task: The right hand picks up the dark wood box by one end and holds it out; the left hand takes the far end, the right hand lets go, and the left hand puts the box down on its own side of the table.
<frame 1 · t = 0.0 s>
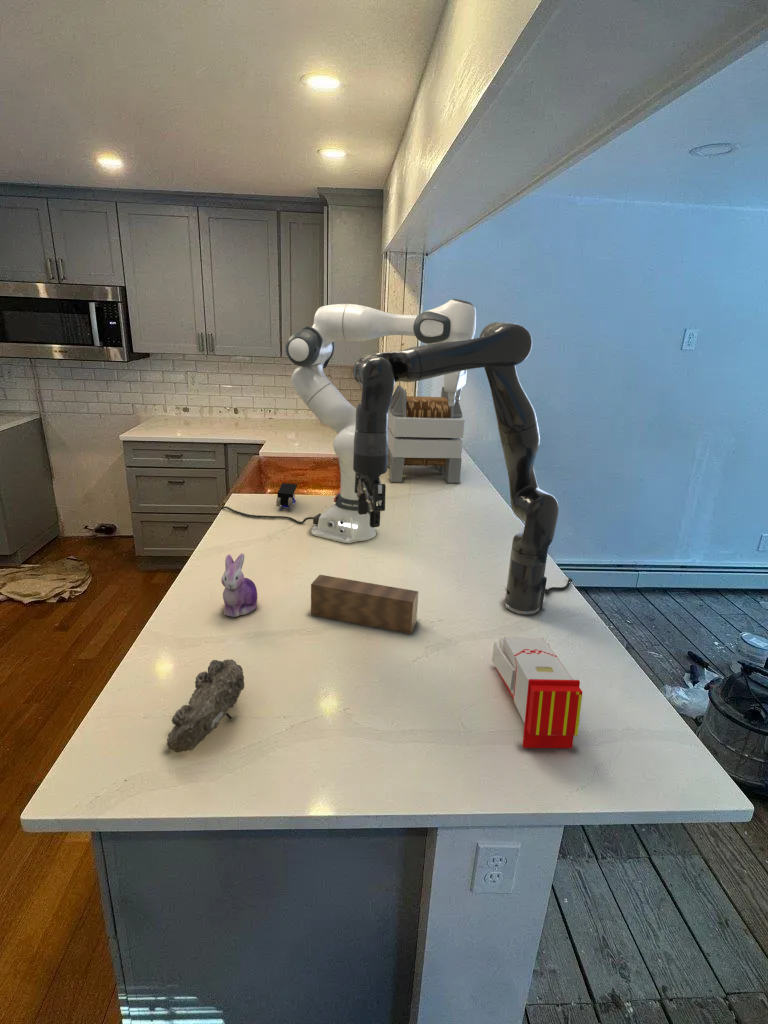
left hand: (454, 403, 174), 48 cm above the counter, tool pointing down, fingers open, 8 cm apart
right hand: (368, 520, 129), 29 cm above the counter, tool pointing down, fingers open, 8 cm apart
figurine: (240, 609, 146), on the counter
fossil: (212, 717, 108), on the counter
toy: (527, 700, 117), on the counter
figurine character: (287, 506, 222), on the counter
box: (363, 618, 145), on the counter
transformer: (419, 473, 275), on the counter
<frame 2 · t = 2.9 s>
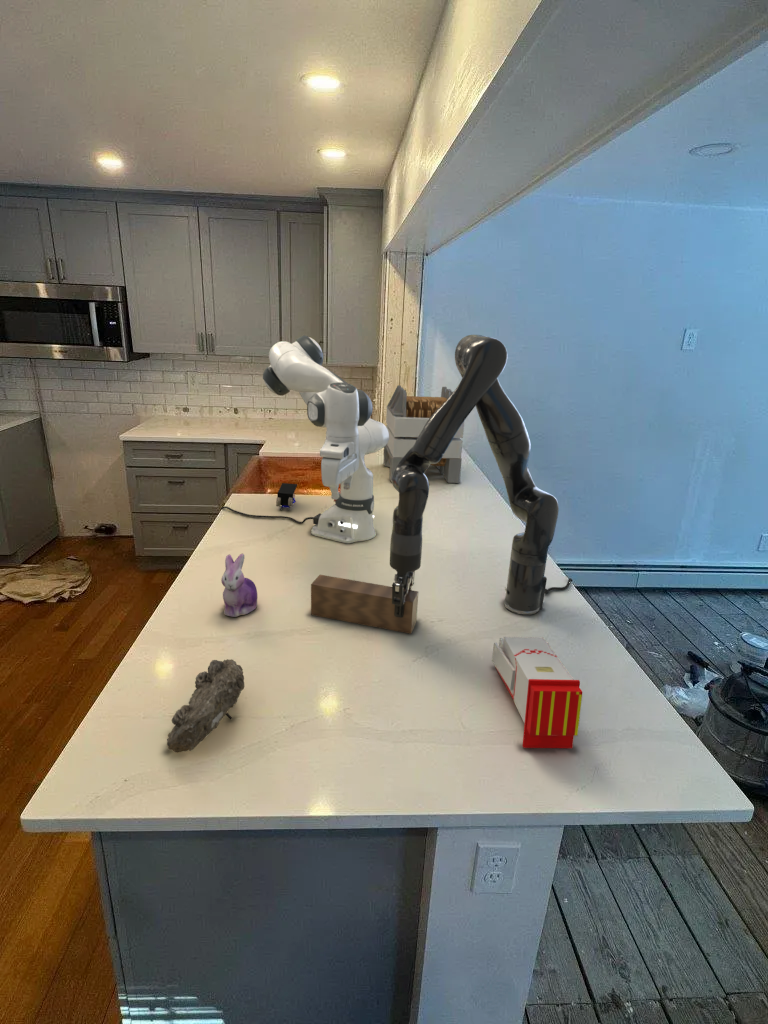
left hand: (341, 493, 157), 26 cm above the counter, tool pointing down, fingers open, 8 cm apart
right hand: (402, 609, 141), 4 cm above the counter, tool pointing down, fingers closed on box, 6 cm apart
box: (363, 618, 145), on the counter, touching right hand
everything else where it was.
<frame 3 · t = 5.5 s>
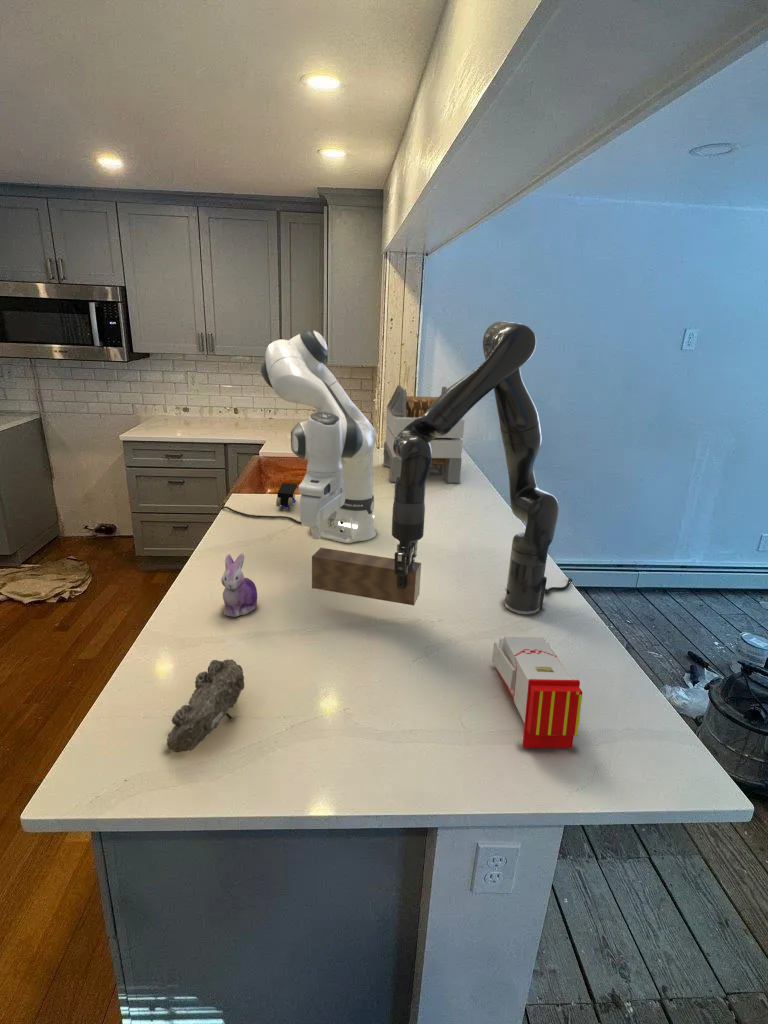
left hand: (324, 531, 145), 20 cm above the counter, tool pointing down, fingers open, 8 cm apart
right hand: (404, 581, 138), 12 cm above the counter, tool pointing down, fingers closed on box, 6 cm apart
box: (365, 591, 142), point 8 cm above the counter, touching right hand
everything else where it was.
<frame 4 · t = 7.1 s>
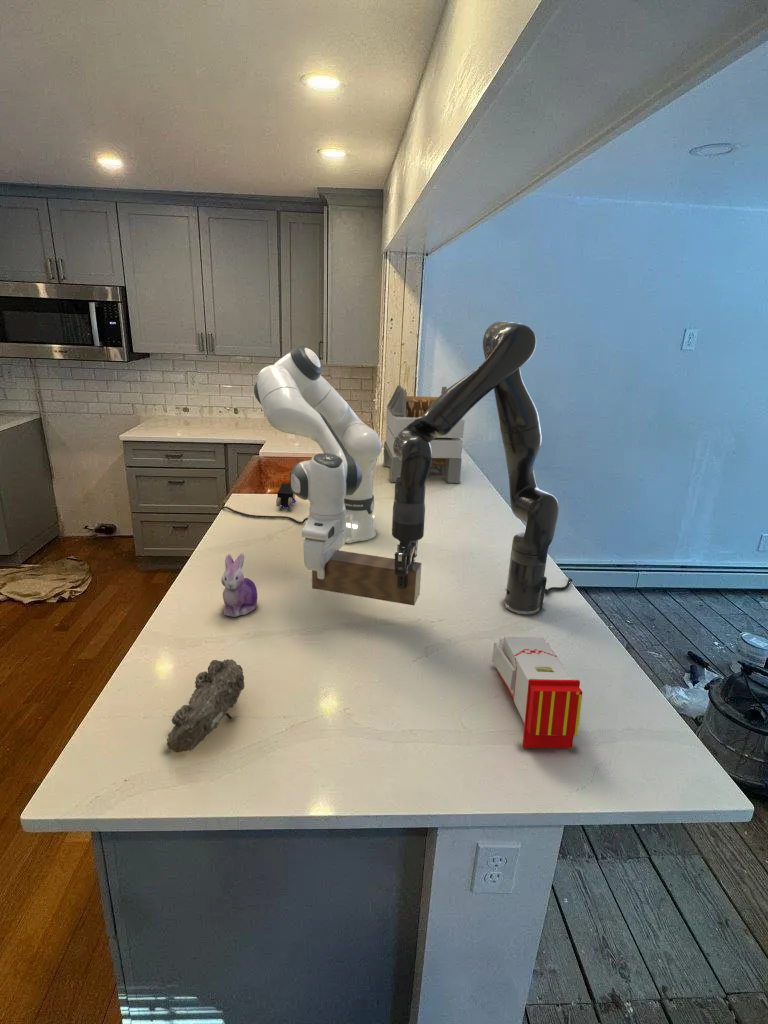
left hand: (326, 571, 143), 11 cm above the counter, tool pointing down, fingers closed on box, 6 cm apart
right hand: (405, 581, 138), 12 cm above the counter, tool pointing down, fingers closed on box, 6 cm apart
box: (365, 591, 142), point 8 cm above the counter, touching left hand, right hand
everything else where it was.
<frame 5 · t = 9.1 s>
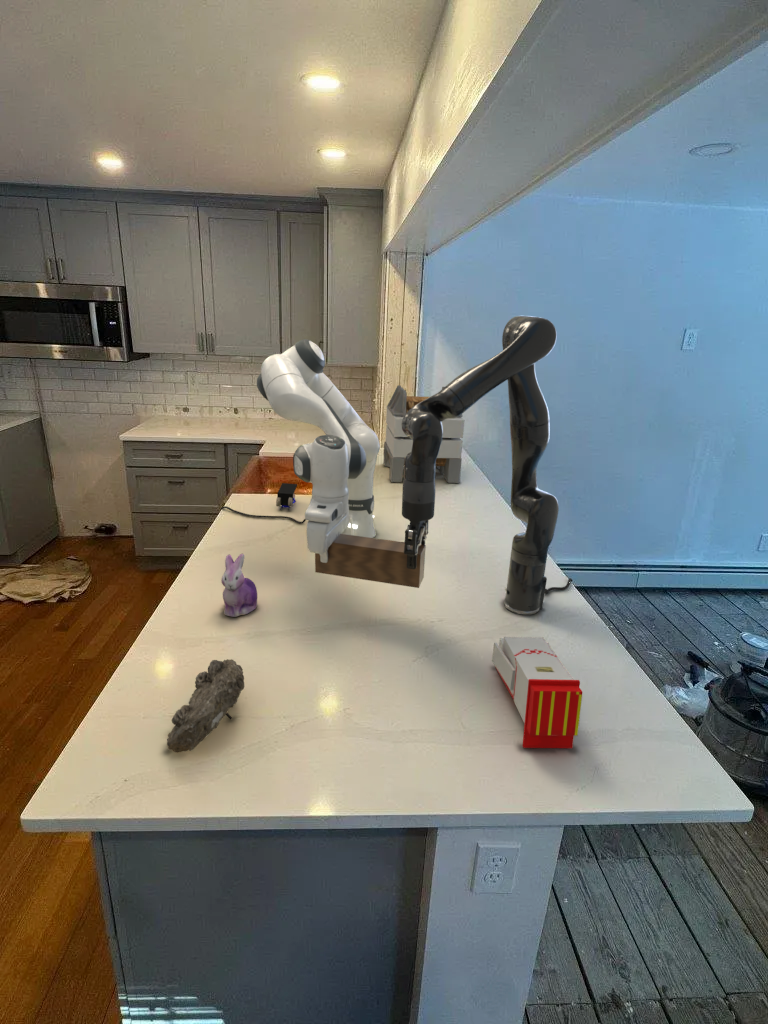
left hand: (329, 555, 142), 16 cm above the counter, tool pointing down, fingers closed on box, 6 cm apart
right hand: (415, 560, 136), 18 cm above the counter, tool pointing down, fingers open, 8 cm apart
box: (369, 574, 141), point 12 cm above the counter, touching left hand
everything else where it was.
when the left hand's fingers open (4 cm above the counter, at t = 14.0 s): box stays where it is, on the counter.
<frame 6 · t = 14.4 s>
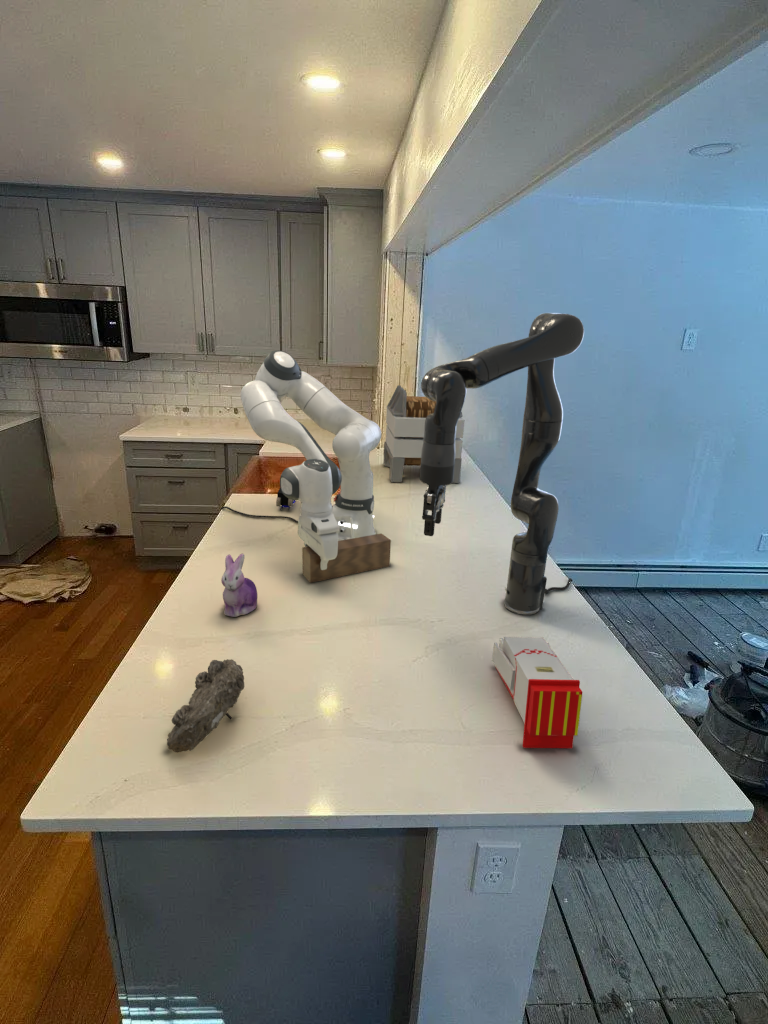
left hand: (316, 562, 164), 5 cm above the counter, tool pointing down, fingers open, 8 cm apart
right hand: (432, 528, 132), 27 cm above the counter, tool pointing down, fingers open, 8 cm apart
box: (347, 570, 171), on the counter
everything else where it was.
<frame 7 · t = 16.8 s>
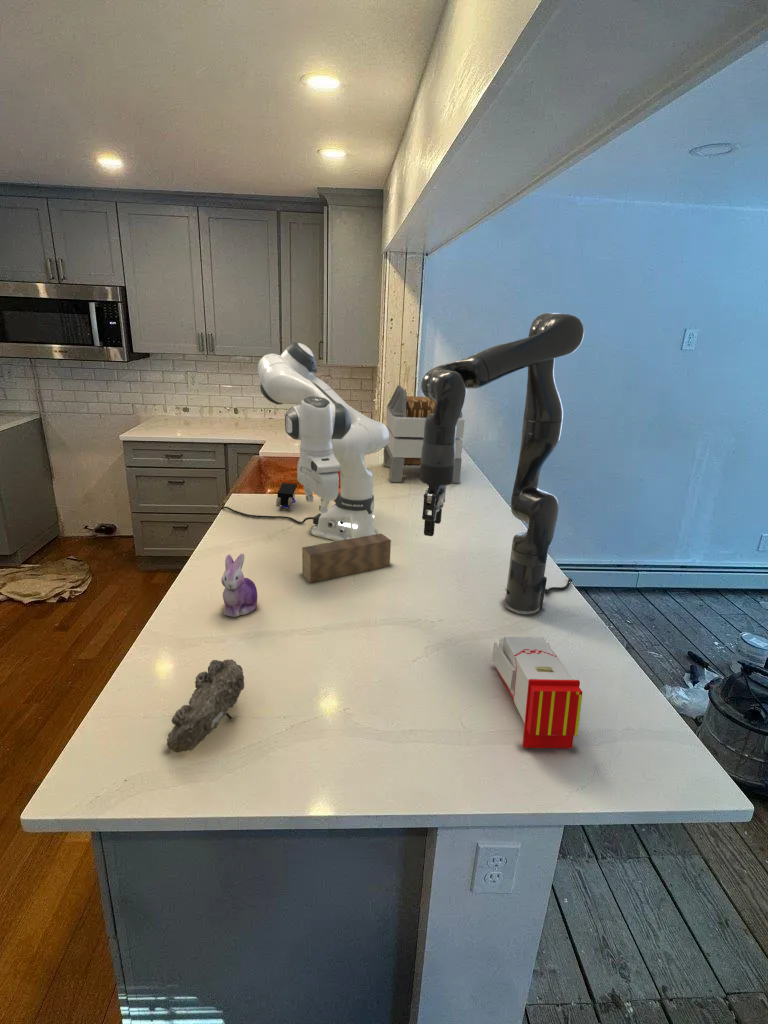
left hand: (316, 506, 158), 22 cm above the counter, tool pointing down, fingers open, 8 cm apart
right hand: (432, 528, 132), 27 cm above the counter, tool pointing down, fingers open, 8 cm apart
nothing on the counter moved.
at the end: box inside the target area (10.2 cm from its centre), on the counter; the left hand is holding nothing; the right hand is holding nothing; box at rest at the end (0.0 cm/s) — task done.
